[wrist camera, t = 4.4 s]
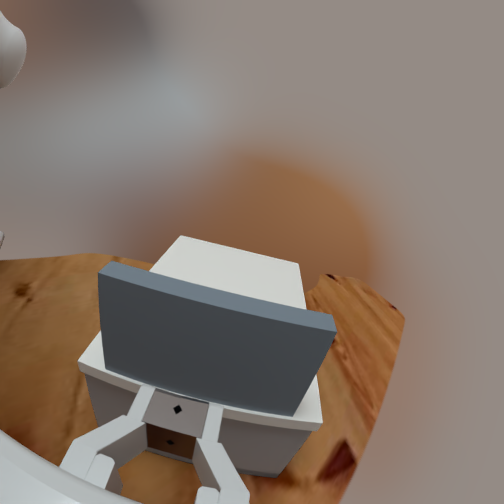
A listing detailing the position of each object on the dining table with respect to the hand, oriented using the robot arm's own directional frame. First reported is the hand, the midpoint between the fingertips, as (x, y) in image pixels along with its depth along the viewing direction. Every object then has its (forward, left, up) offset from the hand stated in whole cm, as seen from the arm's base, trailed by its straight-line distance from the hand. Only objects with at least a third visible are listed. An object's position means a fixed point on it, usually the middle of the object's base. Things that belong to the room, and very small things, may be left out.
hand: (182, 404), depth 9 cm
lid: (-15, +8, -7) cm, 18 cm away
